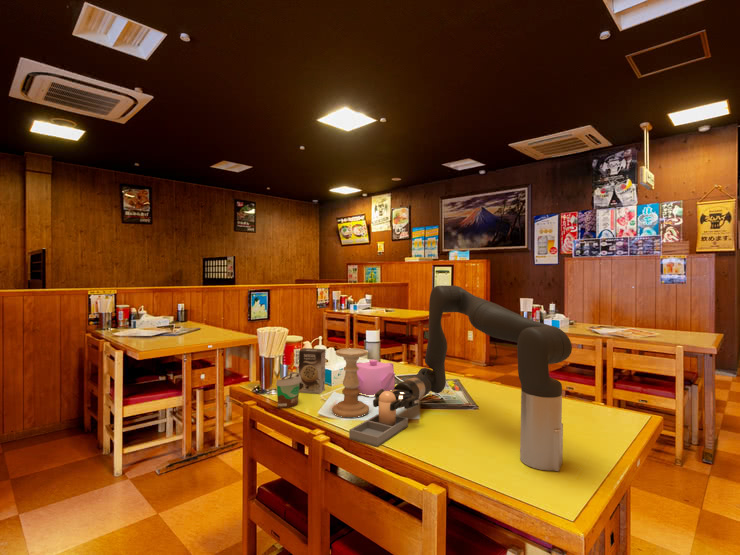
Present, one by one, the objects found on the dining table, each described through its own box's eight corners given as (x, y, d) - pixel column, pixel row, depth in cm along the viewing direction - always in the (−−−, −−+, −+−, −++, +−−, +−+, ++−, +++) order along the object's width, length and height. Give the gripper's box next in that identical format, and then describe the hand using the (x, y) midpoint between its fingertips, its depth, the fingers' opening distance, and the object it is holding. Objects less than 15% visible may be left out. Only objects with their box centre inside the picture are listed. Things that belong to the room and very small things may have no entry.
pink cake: (393, 385, 163) (394, 355, 163) (395, 398, 146) (395, 365, 146) (352, 385, 163) (352, 355, 163) (349, 398, 146) (349, 364, 146)
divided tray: (407, 426, 119) (407, 418, 119) (377, 447, 105) (377, 437, 105) (381, 420, 124) (381, 412, 124) (349, 438, 110) (349, 429, 110)
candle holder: (368, 418, 125) (369, 355, 125) (330, 418, 126) (330, 354, 125) (369, 405, 138) (370, 347, 137) (334, 405, 138) (334, 347, 138)
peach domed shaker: (399, 422, 119) (399, 390, 119) (390, 428, 114) (390, 394, 114) (384, 418, 122) (384, 387, 122) (375, 424, 117) (375, 391, 117)
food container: (293, 411, 131) (293, 381, 131) (275, 409, 133) (276, 379, 133) (306, 399, 143) (306, 372, 143) (290, 398, 145) (290, 371, 145)
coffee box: (297, 392, 152) (298, 350, 152) (303, 388, 158) (303, 347, 158) (320, 394, 150) (321, 351, 150) (325, 389, 157) (325, 348, 156)
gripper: (390, 376, 134) (362, 388, 120) (430, 383, 126) (404, 397, 112) (390, 398, 134) (362, 413, 120) (429, 406, 126) (404, 423, 112)
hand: (382, 405), depth 116 cm, fingers closed on peach domed shaker, 5 cm apart
